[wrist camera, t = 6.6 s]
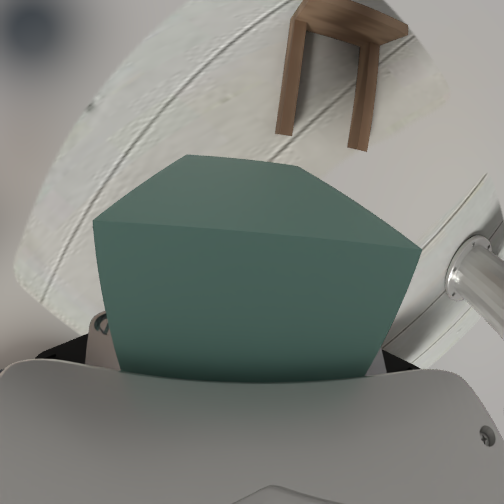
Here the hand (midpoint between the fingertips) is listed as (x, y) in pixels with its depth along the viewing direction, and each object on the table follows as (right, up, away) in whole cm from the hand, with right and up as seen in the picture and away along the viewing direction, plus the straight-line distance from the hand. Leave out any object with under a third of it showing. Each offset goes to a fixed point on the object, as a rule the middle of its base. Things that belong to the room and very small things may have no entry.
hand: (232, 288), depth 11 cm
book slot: (+9, +19, +13) cm, 25 cm away
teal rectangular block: (0, +1, +2) cm, 3 cm away
